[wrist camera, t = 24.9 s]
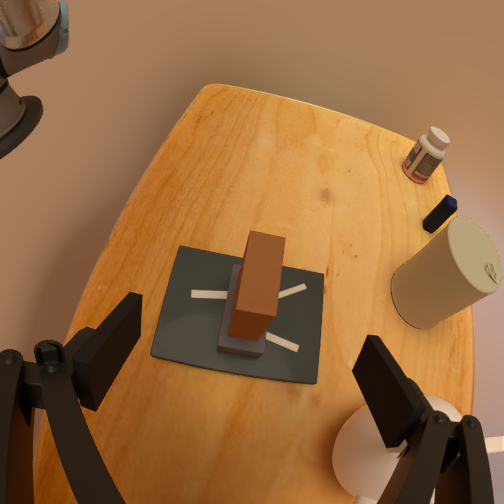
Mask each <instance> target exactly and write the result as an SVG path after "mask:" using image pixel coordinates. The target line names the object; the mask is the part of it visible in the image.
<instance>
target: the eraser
mask: <svg viewBox="0 0 504 504" xmlns="http://www.w3.org/2000/svg"><path fill="white" fill-rule="evenodd" d="M456 210H457V200H456V199H454V198H453V197H451V196H450V195H446V196H445V197H444V198H443V199H442V201H441V202H440V203H439V204H438V205H437V206H436V207H435V208H434V209H433V210H432V211H431V213H430V214H429V215H428V216H427V217H426V218H425V219H424V220H423V228H424V229H425V230H427V231H428V232H430V233H433V232H435V231H436V230H437V229H438V228H439V227H440V226H441V225H442V224H443V223H444V222H445V221H446V220H447V219H448V218H449V217H450V216H451V215H452V214H454V212H455V211H456Z"/></svg>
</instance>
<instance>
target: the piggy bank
mask: <svg viewBox="0 0 504 504" xmlns="http://www.w3.org/2000/svg"><path fill="white" fill-rule="evenodd" d="M424 396H425V397H426V399H427V400H428V402H429V403H430V405H431V406H432V408H433V409H434V410H438V411H442V412H444V413H445V414H446V415H447V416H449V418H450V420H451V421H455V422H460V420H461V419H462V417H461V415H460V413H459V412H458V411H457V410H456V408H455V407H454V406H452V405H451V404H450V403H448V402H447V401H445V400H443V399H441V398H438V397H435V396H431V395H426V394H424ZM484 440H485V445H486V450H487V454H493V453H500V452H504V436H498V437H485V438H484ZM406 445H407V442H406V440H404V441H403V442H402V443H401V445H400V446H399V447H395V448H386V447H385V445H384V442H383V440H382V437H381V435H380V433H379V430H378V428H377V426H376V424H375V421H374V419H373V417H372V414H371V412H370V410H369V408H368V405H367V404H366V405H364V406H363V407H361V408H360V409H358V410H357V411H356V412H355V413H354V414H352V415H351V416H350V417H349V419H348V420H347V421H346V422H345V423H344V425H343V426H342V428H341V430H340V431H339V433H338V435H337V438H336V440H335V443H334V448H333V455H332V463H333V469H334V473H335V475H336V478H337V480H338V482H339V483H340V484H341V486H342V487H343V488H344V489H345V490H346V491H347V492H348V493H349V494H351V495H352V496H354V497H355V498H356V499H355V502H354V504H377V502H378V500H379V499H380V497H381V495H382V493H383V491H384V489H385V487H386V485H387V484H388V482H389V480H390V478H391V476H392V474H393V471H394V469H395V467H396V465H397V463H398V461H399V459H400V457H399V458H398V459H397V457H398V455H399V454H400V453H401V452H402V450H403V449H404V448H405V447H406ZM434 496H435V489H434V492H433V495H432V498H431V501H430V504H434Z"/></svg>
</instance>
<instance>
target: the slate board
mask: <svg viewBox="0 0 504 504" xmlns="http://www.w3.org/2000/svg"><path fill="white" fill-rule="evenodd" d="M242 260H243V258H240V257H235V256H230V255H225V254H220V253H215V252H210V251H205V250H200V249H195V248H190V247H185V246H179V249H178V252H177V255H176V259H175V262H174V266H173V269H172V272H171V276H170V279H169V283H168V287H167V290H166V294H165V297H164V301H163V305H162V309H161V312H160V316H159V320H158V324H157V328H156V332H155V336H154V340H153V344H152V349H151V353H150V355H151V356H152V357H156V358H160V359H164V360H168V361H173V362H177V363H181V364H186V365H190V366H195V367H199V368H204V369H209V370H215V371H220V372H225V373H231V374H237V375H243V376H249V377H256V378H262V379H270V380H277V381H285V382H294V383H304V384H316V383H317V375H318V365H319V353H320V340H321V326H322V310H323V290H324V274H322V273H317V272H311V271H306V270H301V269H296V268H291V267H286V266H282V273H281V281H280V290H279V299H278V307H277V315H276V317H275V319H274V320H273V321H272V323H271V324H270V325H269V326H268V328H267V333H266V340H265V347H264V353H263V354H262V355H261V356H260V357H259V358H256V357H250V356H244V355H239V354H233V353H228V352H223V351H217V345H218V340H219V335H220V330H221V324H222V319H223V314H224V309H225V304H226V298H227V293H228V288H229V283H230V278H231V273H232V268H233V264H238V265H241V264H242Z"/></svg>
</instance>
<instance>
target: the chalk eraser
mask: <svg viewBox="0 0 504 504" xmlns="http://www.w3.org/2000/svg"><path fill="white" fill-rule="evenodd" d="M284 245H285V238H284V237H279V236H275V235H270V234H265V233H260V232H255V231H250V233H249V237H248V241H247V245H246V248H245V252H244V256H243V260H242V264H241V265H238V264H233V268H232V273H231V278H230V283H229V288H228V293H227V298H226V304H225V309H224V314H223V319H222V324H221V330H220V335H219V340H218V345H217V351H223V352H228V353H233V354H239V355H244V356H250V357H256V358H259V357H260V356H261V355H262V354H263V353H264V347H265V340H266V333H267V328H268V326H269V325H270V324H271V323H272V321H273V320H274V319H275V317H276V315H277V307H278V299H279V290H280V281H281V273H282V264H283V255H284Z"/></svg>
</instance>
